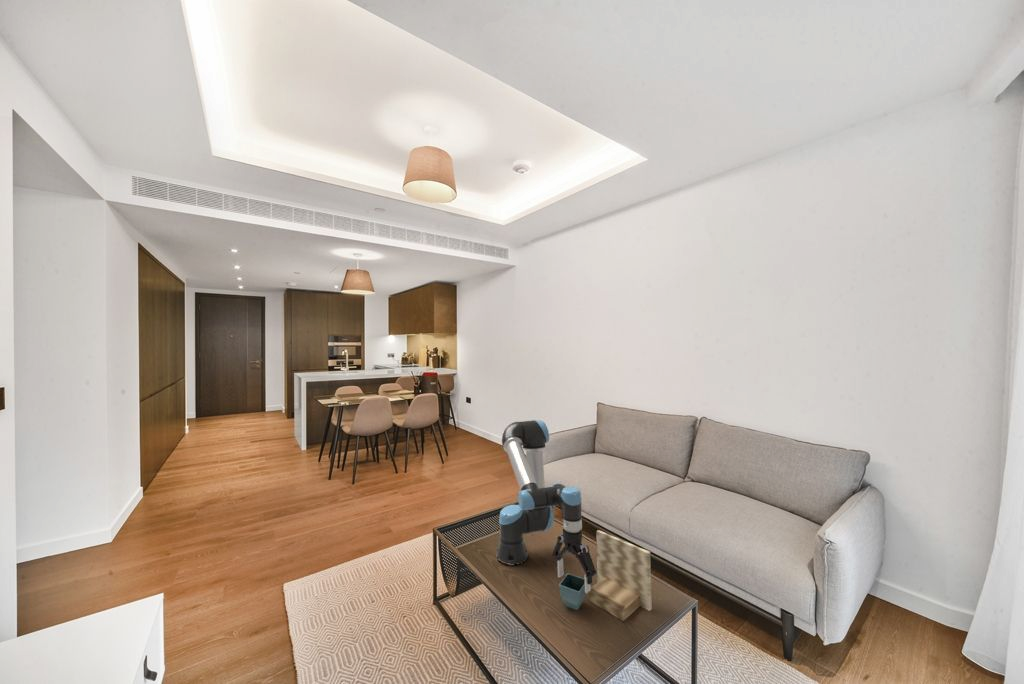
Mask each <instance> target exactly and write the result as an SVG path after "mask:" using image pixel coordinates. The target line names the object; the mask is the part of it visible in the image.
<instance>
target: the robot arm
mask: <svg viewBox="0 0 1024 684" xmlns="http://www.w3.org/2000/svg"><path fill="white" fill-rule="evenodd" d="M549 432H550V431H549V428H548V425H547V424H546V423H545V422H544V421H543V420H540V419H539V420H536V419H534V420H532V419H531V420H523V421H514V422H512V423H510V424H509V425H508V426H506V427H505V429H504V430H503V433H502V437H501V444H502V448H503V450H504V451H505V452H506V453H507V456H508V459H509V462H510V465H511V467H512V470H513V473H514V476H515V479H516V482H517V483H518V487H519V490H520V491H518V493H517V501H518V504H510V505H507V506H505V507H503V508H502V509H501V510H500V512H499V520H498V522H499V542H498V545H497V546H498V548H497V550H496V558H497V557H498V559H500V560H501V561H503V562H505V563H510V564H517V563H521V562H523V561H524V560H525V559H526V558H527V559H528V549H527V547H526V543H525V539H524V535H527V534H533V533H534V534H535V533H540V532H541V533H543V532H544V531H548V530H550V529H551V528H552V527H553V525H554V517H555V516H554V512H553V511H554V510H553V507H555V506H559V507H560V508H561V509H562V510H561V511H562V517H561V518H562V528H563V529H562V534H561V535H559V536H557V541H556V544H555V546H554V548H553V552H552V554H551V555H552V557H554V558H555V561H556V563H555V564H556V567H557V578H561V577H562V576H564V575H565V574H564V572H565V571H564V558H563V557H564V555H565V554H566V553H567V552H568V553H570V554H572V555H574V556H575V558H576V559H577V560H578V562H579V564H580V565H581V568H582V569H583V571H584V577H583V578H584V579H585V593H586V594H588V592H589V591H591V586H592V585H591V584H592V583H593V577H594V576H595V575H597V569H596V567H595V565H594V562H593V560H592V556H591V554H590V549H589V547H590V546H588V545H583V544H582V540H583V530H582V529H583V520H582V497H581V493H582V492H581V490H580V489H579V488H578V487H575V486H565V485H564V484H562V483H559V482H554V483H552V484H551V485H550V486H548V487H545V485H546V484H545V472H544V471H545V469H544V450H545V448H546V444H547V443H549V441H550V433H549ZM524 451H525V452H524ZM563 544H564V546H563ZM562 546H563V548H562ZM561 548H562V549H561ZM560 550H561V551H560ZM523 563H524V562H523ZM521 564H522V563H521Z"/></svg>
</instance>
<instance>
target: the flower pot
mask: <svg viewBox="0 0 1024 684" xmlns="http://www.w3.org/2000/svg"><path fill="white" fill-rule="evenodd" d="M558 587H559V594H560V599H561V601H562V603H563V604H564V606H565V607H568V608H570V609H573V610H575V611H579V609H580V607H581V605H582V604H583V602H584V600H585V598H586V595H587V593H585V578H584V577H581V576H577V575H574V574H571V573H566V574H565V576H564V577H563V579H562V580H561V581H560V582H559V584H558Z"/></svg>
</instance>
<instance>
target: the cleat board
mask: <svg viewBox="0 0 1024 684" xmlns="http://www.w3.org/2000/svg"><path fill="white" fill-rule="evenodd" d="M595 539H596V576H597V577H596V580H597V583H595V584H593V585H591V591H589V592H588V593H587V601H589V602H591V603H592V604H594V605H596V606H598V607H599V608H600V609H602V610H604V611H606V612H607V613H609V614H611V615H612V616H614V617H615V618H617V619H619V620H620V621H622V622H625V620H627V619H628V618H629V617H630V616H631V615H632V614H633V613H634V612H635V611H636V610H638V609H639V607H641V608H643V609H645V610H647V611H649V612H651V611H652V608H653V607H652V575H651V574H652V573H651V571H652V570H651V569H652V568H651V567H652V566H651V564H652V563H651V551H649V550H647V549H644V548H642V547H639V546H637V545H635V544H632V543H630V542H628V541H625V540H623V539H621V538H618V537H616V536H614V535H612V534H609V533H607V532H606V531H605V532H604V531H602V530H599V529H597V530H596V538H595Z"/></svg>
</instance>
